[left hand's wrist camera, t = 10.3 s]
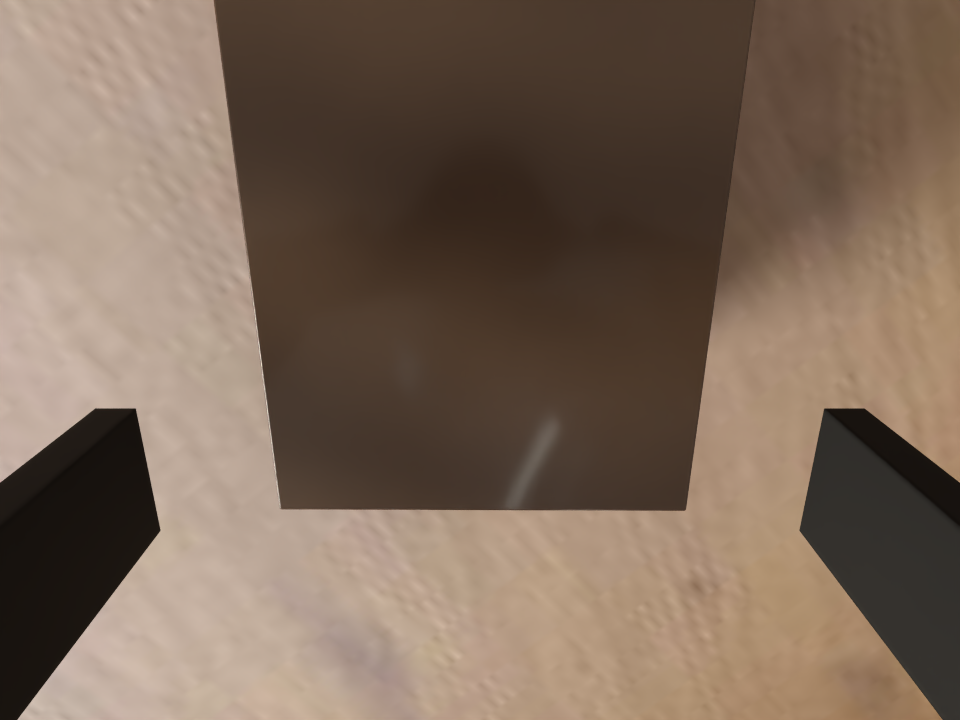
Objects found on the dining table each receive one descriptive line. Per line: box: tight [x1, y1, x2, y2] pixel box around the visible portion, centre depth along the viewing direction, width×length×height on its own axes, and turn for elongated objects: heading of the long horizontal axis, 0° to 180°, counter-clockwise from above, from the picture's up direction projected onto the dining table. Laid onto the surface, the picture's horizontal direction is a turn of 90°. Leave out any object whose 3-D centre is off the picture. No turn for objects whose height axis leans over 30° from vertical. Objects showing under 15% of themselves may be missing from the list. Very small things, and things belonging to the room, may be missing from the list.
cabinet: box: [214, 0, 755, 511], centre depth 18 cm, size 17×10×10 cm, turn 0°
